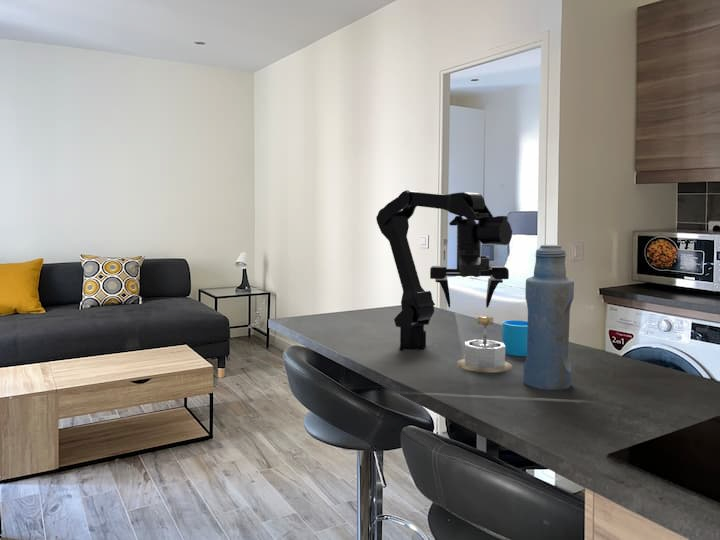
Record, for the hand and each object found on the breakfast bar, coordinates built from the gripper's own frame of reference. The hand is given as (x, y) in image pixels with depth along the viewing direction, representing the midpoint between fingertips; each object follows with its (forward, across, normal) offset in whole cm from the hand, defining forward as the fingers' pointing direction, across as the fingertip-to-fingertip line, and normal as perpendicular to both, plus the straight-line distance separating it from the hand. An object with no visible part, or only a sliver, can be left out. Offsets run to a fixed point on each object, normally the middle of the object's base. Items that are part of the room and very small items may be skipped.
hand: (468, 307), depth 139 cm
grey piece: (+13, +4, -4) cm, 14 cm away
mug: (+14, +13, +11) cm, 22 cm away
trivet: (+14, +4, -5) cm, 15 cm away
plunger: (+9, +4, -5) cm, 11 cm away
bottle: (+14, +15, -18) cm, 28 cm away
